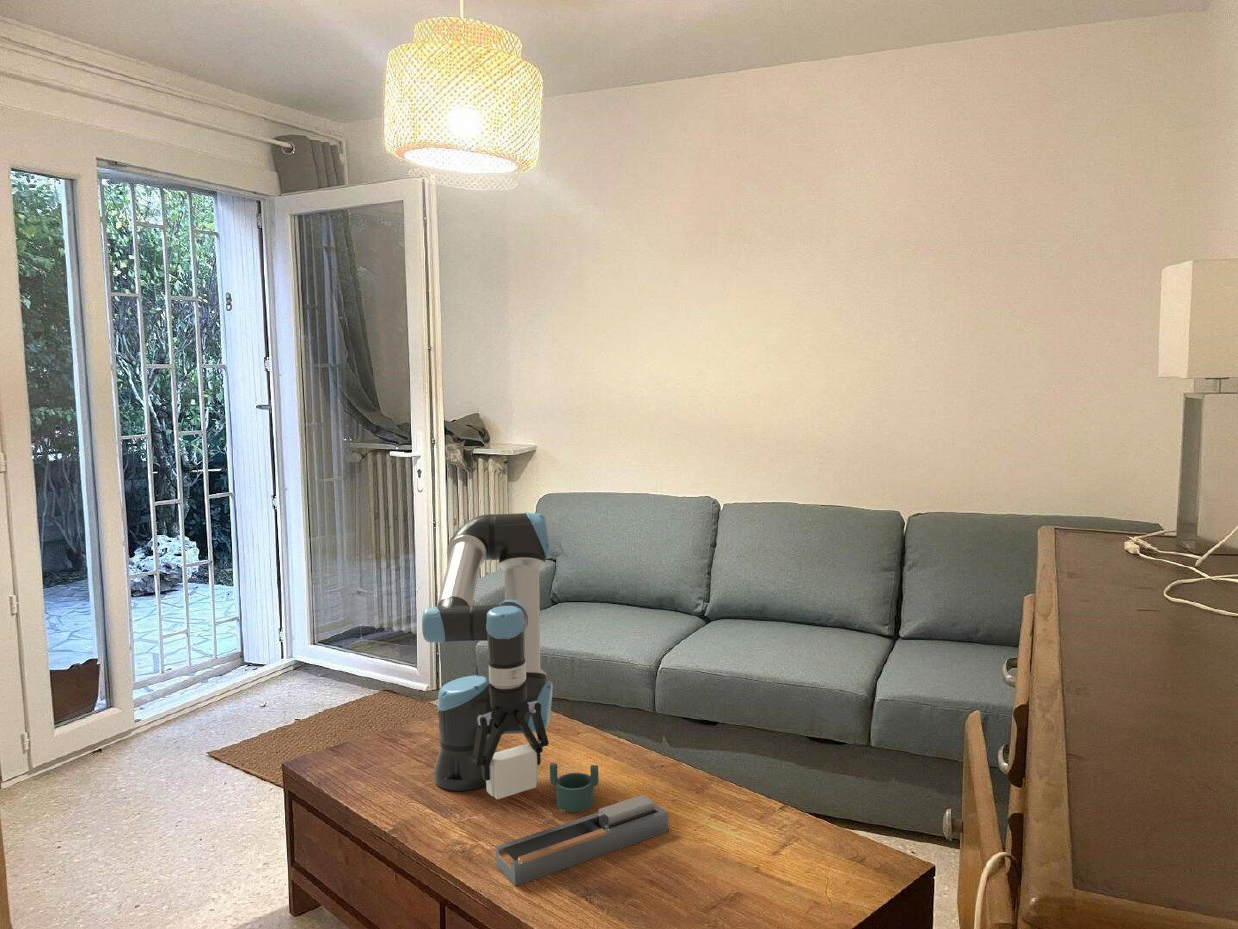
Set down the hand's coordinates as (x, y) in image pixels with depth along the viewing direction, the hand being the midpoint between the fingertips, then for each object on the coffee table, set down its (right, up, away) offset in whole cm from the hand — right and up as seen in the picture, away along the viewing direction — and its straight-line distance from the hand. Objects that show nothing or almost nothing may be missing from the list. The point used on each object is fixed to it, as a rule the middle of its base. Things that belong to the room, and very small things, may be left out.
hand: (512, 786), depth 187 cm
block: (0, -1, 0) cm, 1 cm away
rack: (+15, -10, -7) cm, 19 cm away
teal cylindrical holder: (+12, -8, +13) cm, 20 cm away
